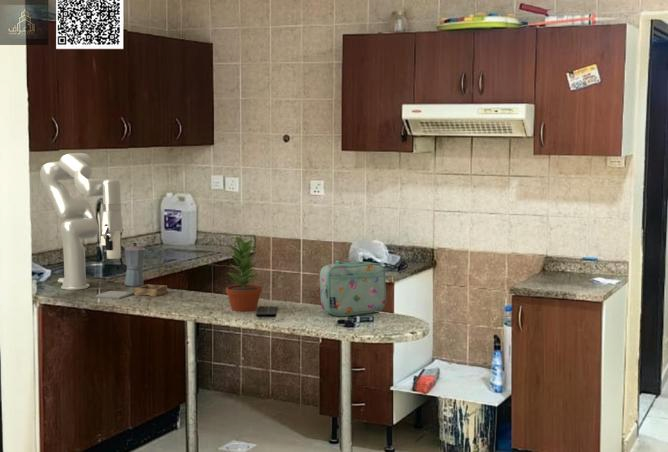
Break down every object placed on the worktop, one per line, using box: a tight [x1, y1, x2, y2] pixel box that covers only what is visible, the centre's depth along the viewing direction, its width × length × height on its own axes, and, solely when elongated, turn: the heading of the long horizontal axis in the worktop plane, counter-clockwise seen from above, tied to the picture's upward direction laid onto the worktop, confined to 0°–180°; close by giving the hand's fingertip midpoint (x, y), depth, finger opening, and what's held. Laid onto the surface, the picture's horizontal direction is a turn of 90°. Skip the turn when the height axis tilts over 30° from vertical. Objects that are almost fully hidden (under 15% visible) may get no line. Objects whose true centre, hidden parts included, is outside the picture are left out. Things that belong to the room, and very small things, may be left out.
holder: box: [134, 284, 168, 297], centre depth 440 cm, size 10×10×3 cm
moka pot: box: [119, 242, 148, 288], centre depth 462 cm, size 10×15×20 cm, turn 78°
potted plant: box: [225, 235, 263, 312], centre depth 403 cm, size 15×15×30 cm
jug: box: [100, 230, 122, 260], centre depth 434 cm, size 9×6×12 cm
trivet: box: [94, 290, 135, 300], centre depth 436 cm, size 12×12×1 cm
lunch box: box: [319, 260, 387, 317], centre depth 394 cm, size 27×10×21 cm, turn 114°
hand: (113, 248), depth 434 cm, fingers closed on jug, 6 cm apart
